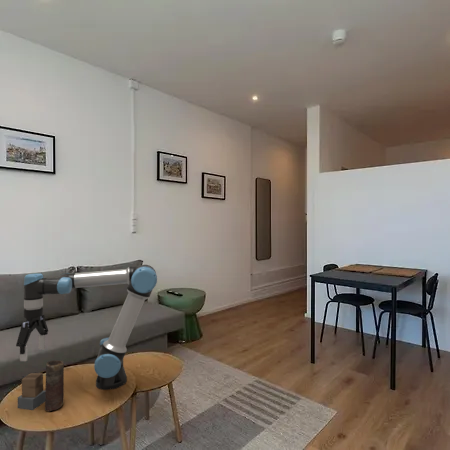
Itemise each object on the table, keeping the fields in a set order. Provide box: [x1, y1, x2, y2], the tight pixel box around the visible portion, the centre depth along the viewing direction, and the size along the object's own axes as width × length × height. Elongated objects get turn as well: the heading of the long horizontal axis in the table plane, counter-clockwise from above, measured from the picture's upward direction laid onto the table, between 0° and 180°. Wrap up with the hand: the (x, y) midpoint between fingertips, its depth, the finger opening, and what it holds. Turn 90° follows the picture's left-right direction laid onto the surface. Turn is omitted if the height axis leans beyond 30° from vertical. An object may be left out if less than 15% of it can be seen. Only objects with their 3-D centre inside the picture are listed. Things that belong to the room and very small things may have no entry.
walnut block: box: [21, 372, 44, 397], centre depth 147 cm, size 6×6×8 cm
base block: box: [17, 389, 46, 411], centre depth 147 cm, size 8×8×5 cm
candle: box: [44, 359, 65, 412], centre depth 144 cm, size 8×7×20 cm
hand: (33, 354), depth 147 cm, fingers open, 13 cm apart
